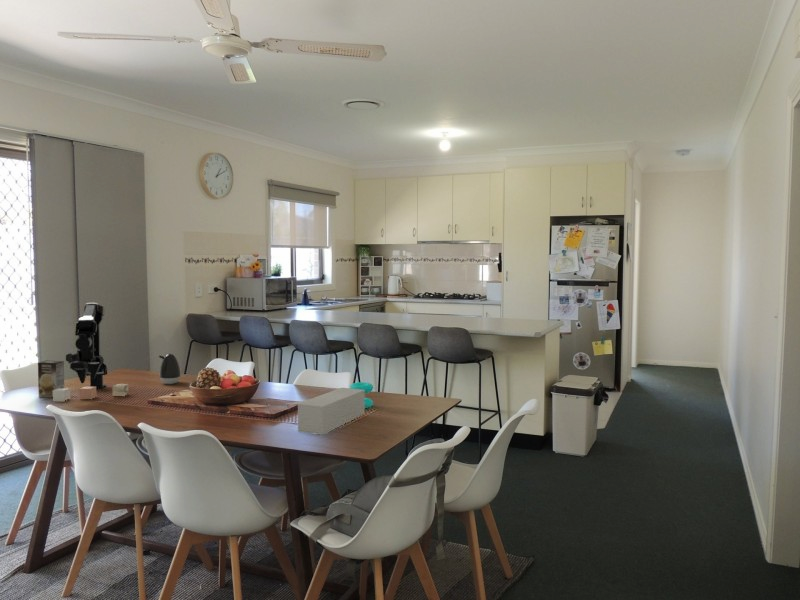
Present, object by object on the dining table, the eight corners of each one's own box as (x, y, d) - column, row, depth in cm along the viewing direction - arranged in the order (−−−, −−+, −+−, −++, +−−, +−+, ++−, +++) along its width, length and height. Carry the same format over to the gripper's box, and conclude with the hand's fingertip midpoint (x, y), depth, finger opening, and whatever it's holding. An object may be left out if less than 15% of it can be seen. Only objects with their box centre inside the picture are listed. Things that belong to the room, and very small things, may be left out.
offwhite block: (59, 399, 286) (58, 388, 285) (70, 399, 286) (69, 388, 285) (52, 401, 281) (52, 390, 280) (64, 401, 281) (63, 390, 280)
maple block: (117, 394, 295) (117, 383, 295) (128, 394, 295) (128, 384, 295) (112, 396, 290) (112, 386, 290) (123, 397, 290) (123, 386, 290)
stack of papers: (322, 435, 229) (322, 406, 228) (297, 432, 233) (297, 403, 232) (364, 416, 257) (364, 389, 257) (341, 413, 262) (341, 387, 261)
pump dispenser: (162, 381, 326) (161, 352, 325) (183, 381, 327) (182, 352, 326) (156, 385, 316) (156, 355, 315) (178, 385, 317) (177, 355, 316)
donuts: (361, 380, 278) (377, 383, 272) (361, 403, 279) (377, 406, 272) (344, 384, 271) (361, 387, 264) (344, 407, 272) (361, 410, 265)
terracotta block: (85, 397, 289) (85, 386, 289) (96, 397, 289) (96, 386, 289) (79, 399, 284) (79, 388, 284) (91, 399, 284) (90, 388, 284)
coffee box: (37, 397, 288) (36, 362, 287) (46, 394, 295) (45, 360, 294) (56, 397, 288) (55, 362, 287) (65, 394, 294) (64, 360, 293)
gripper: (79, 344, 295) (80, 377, 296) (57, 350, 276) (58, 385, 277) (103, 344, 295) (104, 377, 296) (82, 350, 276) (84, 385, 277)
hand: (87, 381), depth 287 cm, fingers open, 9 cm apart
